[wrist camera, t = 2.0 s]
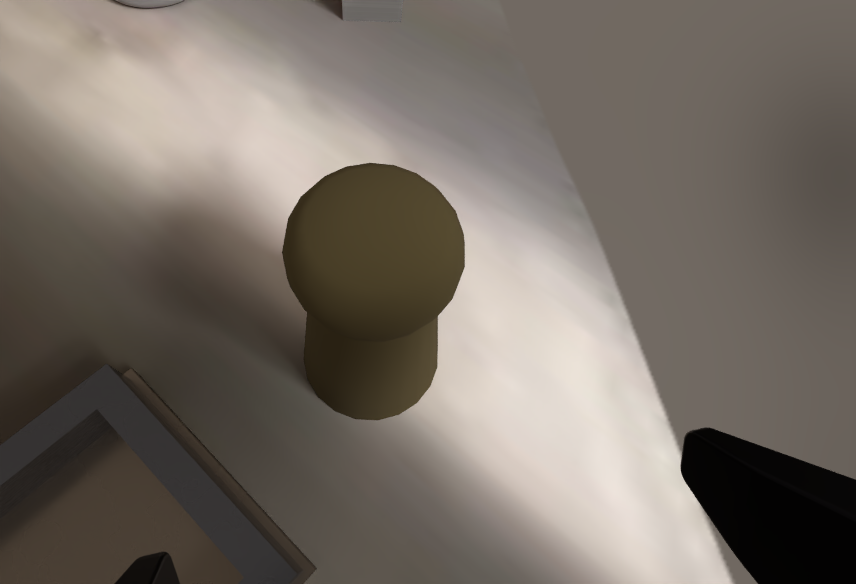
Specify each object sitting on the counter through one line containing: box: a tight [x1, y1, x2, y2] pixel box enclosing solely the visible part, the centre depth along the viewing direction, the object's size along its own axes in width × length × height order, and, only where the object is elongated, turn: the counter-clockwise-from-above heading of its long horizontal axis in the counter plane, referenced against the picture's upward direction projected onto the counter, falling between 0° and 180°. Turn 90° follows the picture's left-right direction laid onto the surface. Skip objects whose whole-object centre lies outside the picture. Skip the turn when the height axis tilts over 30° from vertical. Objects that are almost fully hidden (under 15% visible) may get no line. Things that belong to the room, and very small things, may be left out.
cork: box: [282, 163, 465, 420], centre depth 18 cm, size 6×6×11 cm
